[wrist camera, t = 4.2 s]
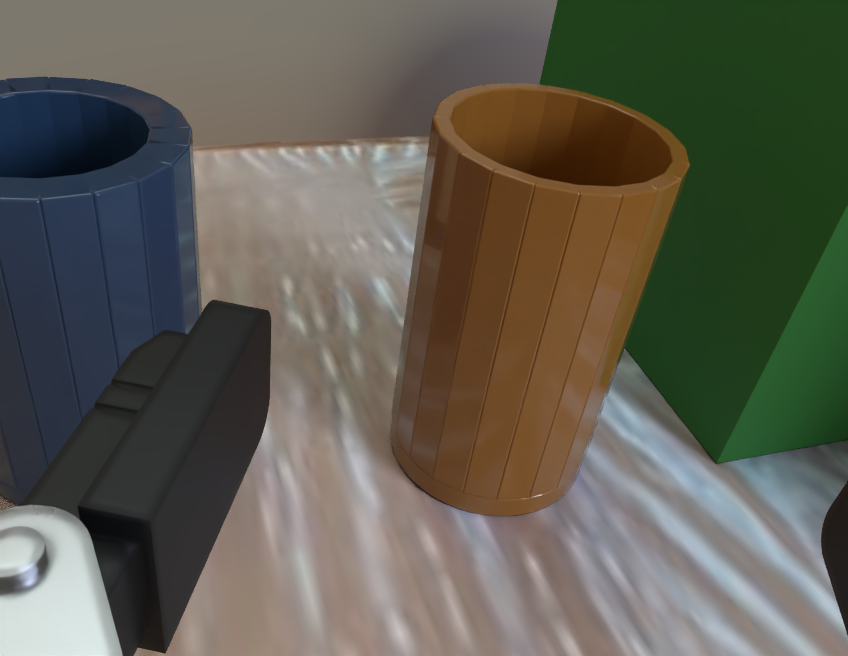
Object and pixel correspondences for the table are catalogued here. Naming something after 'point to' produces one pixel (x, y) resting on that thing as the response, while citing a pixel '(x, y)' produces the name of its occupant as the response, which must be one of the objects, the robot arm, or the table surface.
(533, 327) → the tumbler
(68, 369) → the mug
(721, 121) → the hardback book
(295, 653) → the table surface
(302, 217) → the table surface
